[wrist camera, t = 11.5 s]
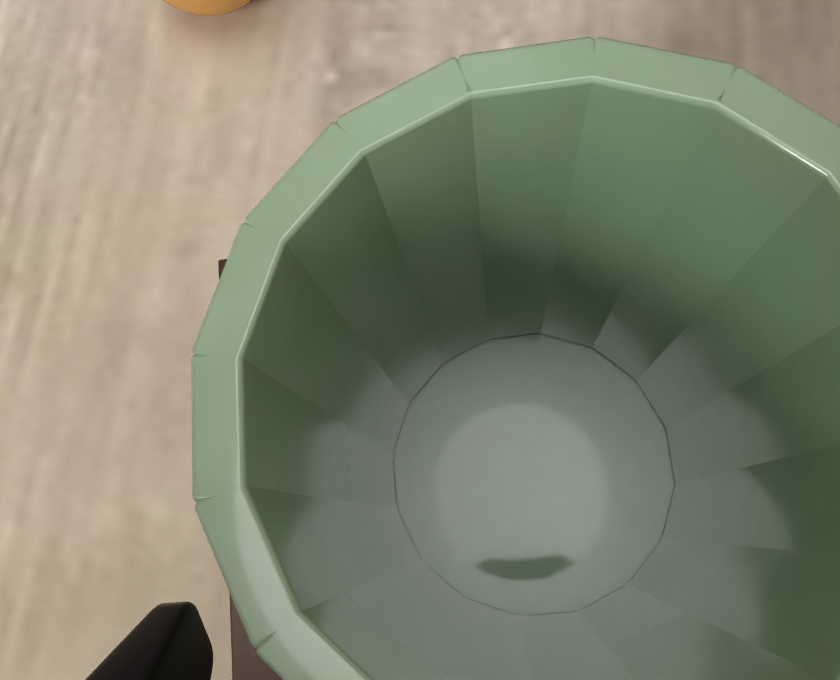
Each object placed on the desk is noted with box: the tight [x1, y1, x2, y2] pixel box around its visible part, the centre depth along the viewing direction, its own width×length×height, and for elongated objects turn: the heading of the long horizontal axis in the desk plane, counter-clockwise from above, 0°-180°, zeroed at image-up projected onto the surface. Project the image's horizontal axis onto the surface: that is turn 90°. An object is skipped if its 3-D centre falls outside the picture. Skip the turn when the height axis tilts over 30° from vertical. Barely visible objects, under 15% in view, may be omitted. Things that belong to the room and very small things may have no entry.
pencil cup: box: [191, 37, 840, 680], centre depth 11 cm, size 7×7×10 cm
